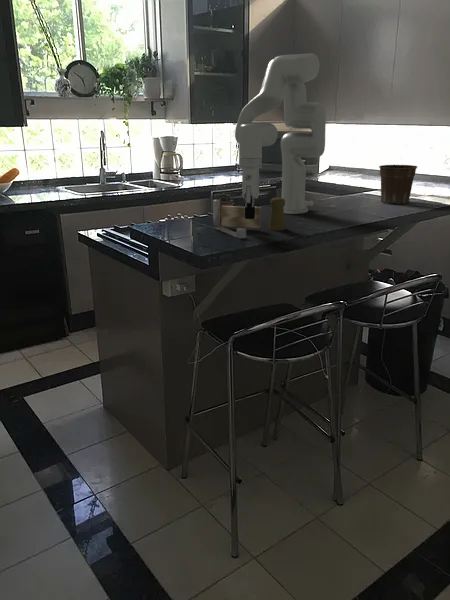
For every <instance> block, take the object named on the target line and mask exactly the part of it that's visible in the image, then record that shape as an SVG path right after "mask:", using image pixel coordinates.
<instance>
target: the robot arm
mask: <svg viewBox="0 0 450 600" xmlns="http://www.w3.org/2000/svg"><path fill="white" fill-rule="evenodd" d="M319 70H320V60H319V57H318V55H316V54H315V53H299V54H298V53H297V54H296V53H294V54H293V53H292V54H283V55H278V56H275V57H274V58H272V59H271V60H270V61H269V62H268V64H267V66H266V70H265V73H264V77H263V79H262V82H261V86H260V89H259V93H258V94H257V95H256V96H255V97H253V98H252V99H251V100H250V101H249V102H248V103H247V104H246V105H245V106H244V107H243V108H242V110H241V111H240V113H239V116H238V118H237V122H236V126H235V130H234V137H235V141H236V143H238V168H239V169H241V170H242V171H241V172H242V173H241V174H242V175H241V176H242V177H241V183H242V184H241V185H242V187H241V188H242V190H241V191H242V193H241V194H242V198H243V199H244V200H245V201H244V202H245V204H244V205H245V206H244V207H245V219H254V218H255V207H256V206H255V200H257V199H258V198H259V196H260V170H259V169H262V167H263V166H262V165H263V164H262V163H263V161H262V160H263V147H270V146H273V145H274V144H275V143H276V141H277V140H278V136H279V135H278V134H279V133H278V132H279V131H278V128H277V127H276V125H274V124H273V123H270V122H254V120H255V119H257V117H259V116H262V115H263V114H266V113H268V112H270V111H273V110H275V109H277V108H278V107H280V106H281V105H282V103H283V117H284V118H283V119H284V124H285V126H286V127H287V128H290V129H295V130H296V129H300V130H301V129H308V130H309V129H310V130H311V131H289V132H286V133H284V134H283V136H282V137H281V139H280V151H281V161H282V162H281V164H282V170H281V198H283V199H284V200H285V206H284V207H283V209H284V215H285V214H287V215H300V214H301V215H302V214H306V213H308V212H309V208H308V206H310V207H311V206H314V204H315V202H314V201H313V200H309V201H308V200H306V199H305V198H306V176H307V168H306V167H307V166H306V165H305V163H304V161H303V159H302V158H320V157H322V156H323V154H324V152H325V148H326V127H327V125H326V119H327V117H326V114H327V113H326V110H325V107H324V105H323V103H320V102H315V101H314V102H308V101H307V87H306V85H305V83H307V82H310V81H312V80H314V79H315V78H316V77H317V76H318V75H319Z"/></svg>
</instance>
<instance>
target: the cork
mask: <svg viewBox="0 0 450 600" xmlns="http://www.w3.org/2000/svg"><path fill="white" fill-rule="evenodd" d="M269 202H270V207H271V210H270V217H269V223H268V230H270V231H275V232H276V231H279V232H281V231H285V230H286V222H285V213H284V209H283V207H284V206H285V200H284V199H283V198H282V197H279V196H278V197H273V198H271V199H270V201H269Z"/></svg>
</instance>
